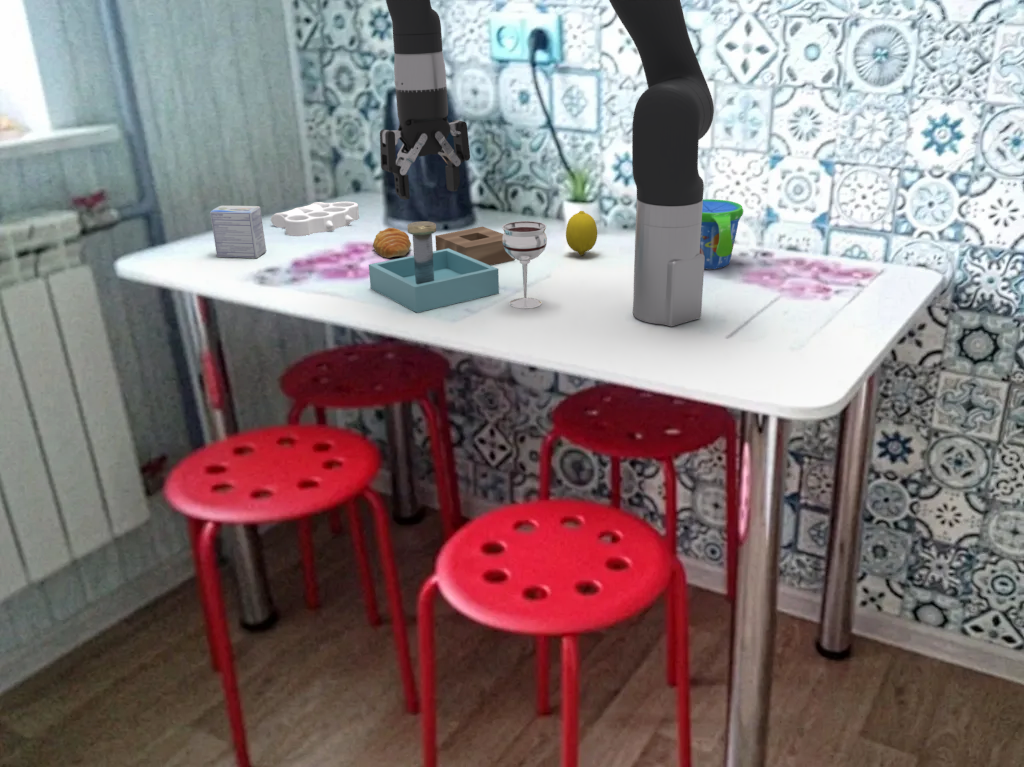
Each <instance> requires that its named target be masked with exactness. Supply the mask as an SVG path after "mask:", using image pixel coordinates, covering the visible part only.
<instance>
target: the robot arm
mask: <svg viewBox="0 0 1024 767" xmlns="http://www.w3.org/2000/svg"><path fill="white" fill-rule="evenodd" d="M608 1H609V3H610V4H611V7H612V9H613V10H614V11H615V13H616V15H617V17H618V18H619V20H620V22H621V23H622V25H623V27H624V28H625V31H627V33H628V34H629V36H630V38H631V40H632V41H633V43H634V46H635V48H636V49H637V51H638V54H639V57H640V61H641V64H642V67H643V71H644V75H645V79H646V80H645V81H646V83H647V89H646V90H645V91H644V92H643V93H642V94H640V97H639V98H638V99H637V101H636V104H635V107H634V112H633V117H632V130H631V136H632V137H631V138H632V140H631V143H632V145H631V149H632V151H631V152H632V153H631V154H632V166H631V167H632V176H633V181H634V183H635V187H636V205H635V206H636V207H635V208H636V209H635V211H636V212H635V239H634V261H633V262H634V263H633V264H634V265H633V295H632V298H633V299H632V302H633V303H632V314H633V316H634V317H635V319H637V320H640V321H642V322H645V323H649V324H655V325H656V324H657V325H665V326H668V327H674V326H678V325H681V324H685V323H687V322H690V321H691V322H692V321H694V320H698V319H701V318H702V305H703V304H702V303H703V291H704V290H703V289H704V275H705V274H704V273H705V269H704V261H705V257H704V255H703V254H700V238H701V220H702V206H703V199H704V190H705V189H704V187H705V186H704V180H703V178H702V177H701V176H700V173H699V165H698V163H699V140H701V139H703V137H704V136H706V135H707V133H708V132H709V130H710V129H711V125H712V123H713V120H714V112H715V107H714V100H713V97H712V93H711V90H710V87H709V86H708V83H707V81H706V78H705V75H704V73H703V70H702V67H701V66H700V65H701V64H700V63H699V60H698V58H697V55H696V52H695V50H694V48H693V44H692V41H691V38H690V36H689V33H688V29H687V24H686V20H685V19H686V18H685V15H684V11H683V7H682V6H683V5H682V2H681V0H608ZM385 3H386V7H387V9H388V13H389V16H390V19H391V25H392V38H393V41H392V42H393V51H394V52H393V53H394V63H393V64H394V65H393V66H394V67H393V68H394V69H393V71H394V72H393V74H394V87H395V96H396V98H395V99H396V100H395V101H396V108H397V111H396V112H397V117H398V121H399V125H398V128H397V130H396V129H395V130H389V129H381V130H380V132H379V143H380V144H379V146H380V147H379V148H380V167H381V170H382V171H384V172H388V173H392V174H393V176H394V177H393V178H394V187H395V193H396V195H397V196H398V197H399V199H401V200H404V201H407V200H410V198H411V194H410V182H409V181H410V180H409V175H408V174H407V173H408V171H409V169H410V167H411V165H412V164H413V163H415V161H416V159H417V157H421V158H422V157H425V156H428V155H439V156H440V157H441V158H442V159H443V160H444V162H445V163H446V164H447V165H445V166H444V167H445V184H446V189H447V191H450V192H457V191H458V190H459V189H458V188H459V187H460V184H461V181H460V179H461V178H460V165H461V164H462V163H464V162H465V161H466V162H467V161H469V160H470V159H471V152H470V142H469V133H468V124H467V122H466V121H465V120H459V119H454V120H452V122H449V120H448V116H449V104H448V87H447V75H446V74H447V73H446V72H447V70H446V65H445V59H444V52H443V37H442V36H443V35H442V24H441V17H440V15H439V13H438V12H437V11H436V10H434V8H432V4H431V0H385ZM450 134H451V136H453V145H454V147H452V146H451V145H450V143H449V142H448V137H449V135H450ZM399 140H400V142H401V143H402V145H401V147H400V148H399V150H398V153H397V154H396V152H397V151H396V145H397V144H398V143H399ZM453 148H454V149H453ZM396 156H397V157H396Z"/></svg>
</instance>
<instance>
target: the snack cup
mask: <svg viewBox="0 0 1024 767" xmlns="http://www.w3.org/2000/svg"><path fill="white" fill-rule="evenodd" d="M743 215H744V209H743V206H742V205H741V204H740V203H738V202H734V201H730V200H726V199H725V200H724V199H712V198H710V199H709V198H708V199H707V198H706V199H705V198H703V206H702V220H701V238H700V254H703V255H704V257H705V261H704V270H716V269H721V268H722V269H723V268H724V267H726V266H729V265H730V262H731V258H732V254H733V250H734V246H735V241H736V236H737V230H738V226H739V222H740V219H741V217H742V216H743Z"/></svg>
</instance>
